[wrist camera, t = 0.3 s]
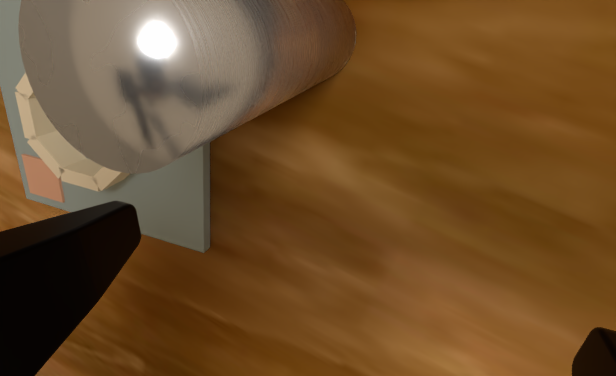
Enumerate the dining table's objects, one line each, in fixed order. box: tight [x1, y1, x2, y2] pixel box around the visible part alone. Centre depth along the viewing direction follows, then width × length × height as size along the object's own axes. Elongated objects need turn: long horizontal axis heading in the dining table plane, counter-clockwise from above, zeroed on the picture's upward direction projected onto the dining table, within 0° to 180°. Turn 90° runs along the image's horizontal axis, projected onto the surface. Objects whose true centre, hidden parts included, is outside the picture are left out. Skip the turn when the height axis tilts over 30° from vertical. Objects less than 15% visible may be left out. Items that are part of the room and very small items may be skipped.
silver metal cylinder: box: [18, 0, 356, 174], centre depth 14 cm, size 4×4×14 cm
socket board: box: [0, 0, 210, 253], centre depth 25 cm, size 16×16×3 cm
